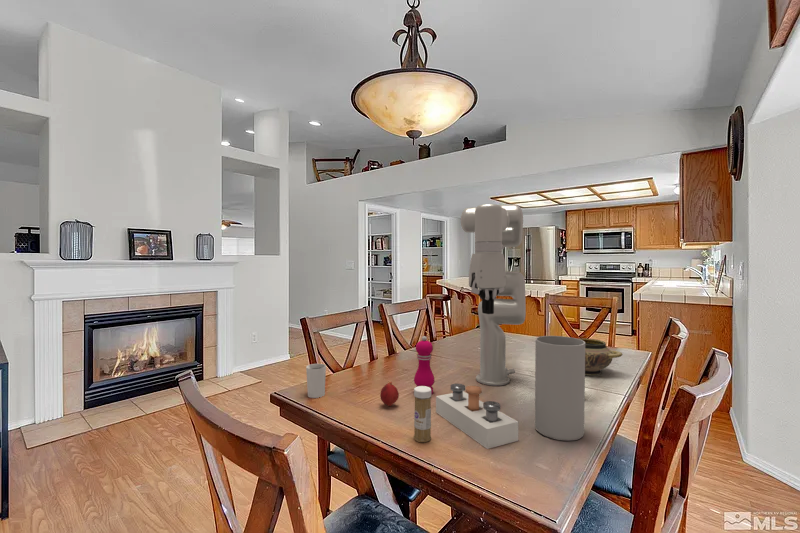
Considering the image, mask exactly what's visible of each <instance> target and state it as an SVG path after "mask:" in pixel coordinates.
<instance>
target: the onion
mask: <svg viewBox="0 0 800 533" xmlns="http://www.w3.org/2000/svg"><path fill="white" fill-rule="evenodd" d="M399 395H400V394H399V391H398V389H397V387H396V386H395V385H393V382H392V381H391V380H390V381H388V382H387V384H385V385H383V387H382V388H381V390H380V400H381V402H383V404H385V405H387V406H388V407H391V406H393V405H394V404H395V403H396V402H397V401H398V400H399V397H400V396H399Z"/></svg>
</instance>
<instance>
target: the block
mask: <svg viewBox="0 0 800 533" xmlns="http://www.w3.org/2000/svg"><path fill="white" fill-rule="evenodd" d="M484 402H485V401H482V400H480V399H479V410H477V411H473V412H472V411H470V410H469V409H468V393H467V392H466V391H463V400H462V401H457V402H456V401H454V400H453V392H451V393H446V394H440V395H435V413H436V414H438V415H439V416H441V417H442V419H445V420H446V421H448V422H449V423H450V424H451V425H453V426H454V427H456V428H457V429H458V430H461V431H462V432H463V433H464V434H466V435H467V436H468V437H470V438H471V439H472V440H474V441H475V442H477V443H478V444H480V445H481V446H482V447H484V449H487V450H488V449H492V448H496V447H499V446H503V445H504V446H505V445H507V444H511V443H514V442H518V441H519V421H518V420H516V419H515V418H512V417H510V416H509V415H507V414H505V413H504V412H502V411H500V410H499V411H498V421H497V422H492V423H490V422H488V421H487V420H486V410H485V409H484V408H483V403H484Z"/></svg>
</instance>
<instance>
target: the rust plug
mask: <svg viewBox="0 0 800 533" xmlns="http://www.w3.org/2000/svg"><path fill="white" fill-rule="evenodd" d="M482 389H483V388H482V387H481V386H478V385H467V386H465V393H467V394H468V409H469V410H470V411H472V412H473V411H477V410H479V400H480V395H481V394H482V393H483V392H482V391H483V390H482Z"/></svg>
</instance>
